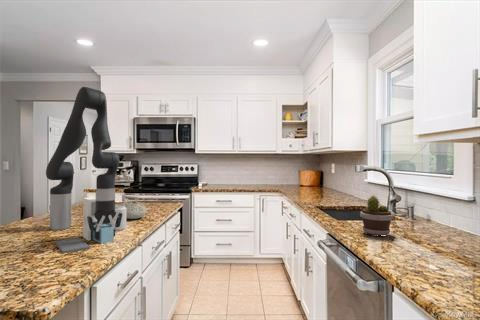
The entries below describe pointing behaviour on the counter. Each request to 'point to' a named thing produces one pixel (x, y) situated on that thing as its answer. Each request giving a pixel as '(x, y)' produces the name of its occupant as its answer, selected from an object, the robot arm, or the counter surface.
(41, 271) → the counter surface
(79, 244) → the mat
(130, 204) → the decorative shell
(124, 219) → the can
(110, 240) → the block
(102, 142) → the robot arm
